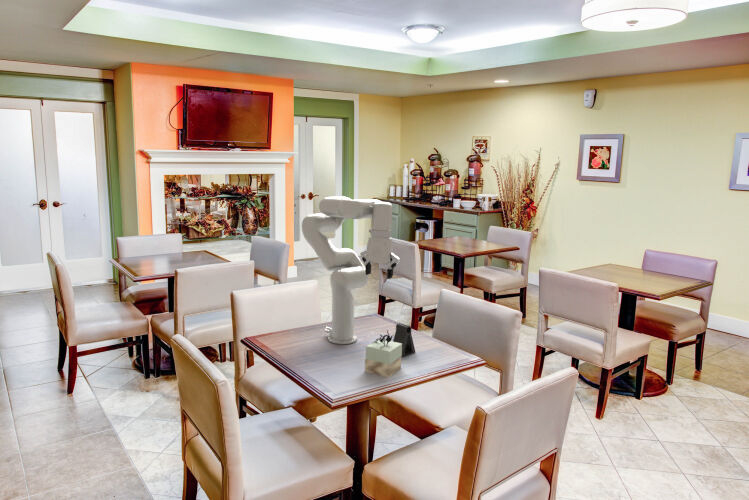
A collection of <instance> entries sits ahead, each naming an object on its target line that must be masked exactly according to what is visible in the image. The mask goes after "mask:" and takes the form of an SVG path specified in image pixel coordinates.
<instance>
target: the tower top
mask: <svg viewBox="0 0 749 500" xmlns="http://www.w3.org/2000/svg"><path fill="white" fill-rule="evenodd" d="M376 339H377V340H378V339H380V338H376ZM381 339H382V338H381ZM381 339H380V340H381ZM380 340H378V341H376V340H375V341H376V342H377V343H374V341H372V342H371V343H369V344H368V345H366V346H365V359H368V360H372V361H376V362H381V363H385V364H389V365H390V364H391V363H393V362H394V361H395V360H397V359H398V358H400V357H401V356H402V343H397V342H393V340H391V341H390V342H389V343H388V344H387V341H385V346H384V341H383V342H380ZM372 343H374V344H372ZM378 343H379V344H378ZM381 346H382V347H381ZM380 347H381V349H380ZM401 358H402V357H401Z"/></svg>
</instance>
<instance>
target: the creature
mask: <svg viewBox="0 0 749 500" xmlns="http://www.w3.org/2000/svg"><path fill="white" fill-rule="evenodd" d="M386 333H387V334H384V335H382V334H380V333H379V336H380V337H379V338H376V340H374V341H373V342H374V343H377V342H376V341H378V340H380V339H381V340H380V342H383V341H384V346H385V341H387V344H388V343H389V342H390V341H392V339H393V337H394V336H395V334H392V335H391V336H390V333H389V330H388V329H387V331H386ZM377 339H378V340H377ZM371 343H372V342H371ZM374 343H372V344H374ZM378 344H379V343H378ZM381 347H382V346H381ZM381 347H380V349H381Z"/></svg>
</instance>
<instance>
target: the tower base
mask: <svg viewBox="0 0 749 500" xmlns="http://www.w3.org/2000/svg"><path fill="white" fill-rule="evenodd" d="M401 369H402V357H400V358H398V359H397V360H395V361H394V362H393V363H391V364H390V365H389V364H385V363H381V362H376V361H372V360H368V359H366V358H364V372H365V373H366V372H367V373H369V374H374V375H378V376H381V377H385V378H390V377H391V376H392V375H394V374H395V373H397V372H398V371H399V370H401Z"/></svg>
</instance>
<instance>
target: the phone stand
mask: <svg viewBox="0 0 749 500" xmlns="http://www.w3.org/2000/svg"><path fill="white" fill-rule="evenodd" d="M392 339H393V340H392V342H397V343H402V356H401V358H403V357H407V356H409V355H413V354H415V353H416V349H415V343H414V340H413V336H412V327H411V326H409V325H408V324H407V325H406V324H404V323H400V322H398V323H396V325H395V333H394V336H393V338H392Z"/></svg>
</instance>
